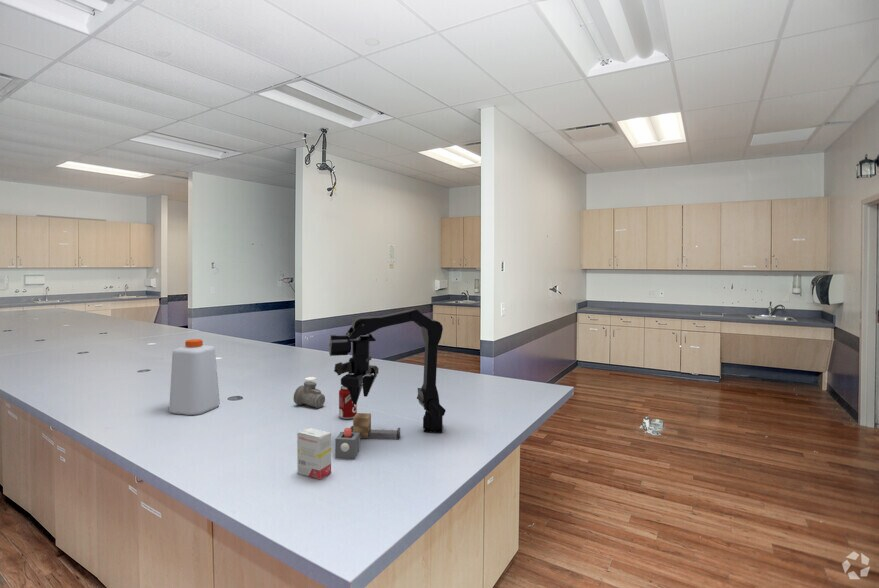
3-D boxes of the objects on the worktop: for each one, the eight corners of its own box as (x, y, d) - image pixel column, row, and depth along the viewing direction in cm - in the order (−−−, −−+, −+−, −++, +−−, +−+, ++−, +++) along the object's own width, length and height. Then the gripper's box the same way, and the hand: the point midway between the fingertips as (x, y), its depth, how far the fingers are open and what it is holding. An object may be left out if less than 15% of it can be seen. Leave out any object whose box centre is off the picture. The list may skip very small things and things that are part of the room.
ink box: (332, 473, 126) (332, 431, 125) (320, 480, 122) (320, 437, 121) (309, 466, 130) (309, 426, 129) (296, 473, 126) (296, 432, 125)
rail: (400, 436, 154) (400, 427, 154) (399, 439, 151) (399, 430, 151) (351, 434, 155) (351, 426, 155) (349, 437, 152) (349, 429, 152)
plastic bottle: (197, 417, 171) (196, 344, 169) (163, 413, 174) (162, 342, 172) (224, 405, 185) (223, 338, 184) (192, 402, 188) (191, 336, 187)
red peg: (352, 440, 139) (352, 428, 139) (350, 443, 137) (350, 430, 137) (345, 440, 139) (345, 427, 139) (343, 443, 137) (343, 430, 137)
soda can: (339, 420, 169) (339, 389, 168) (338, 415, 175) (338, 384, 174) (357, 419, 170) (357, 388, 170) (355, 413, 177) (356, 383, 176)
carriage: (370, 432, 156) (371, 413, 155) (367, 437, 151) (367, 418, 150) (356, 431, 156) (356, 413, 156) (353, 437, 151) (353, 417, 151)
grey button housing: (359, 451, 141) (359, 432, 141) (354, 459, 135) (354, 440, 135) (340, 450, 142) (340, 431, 141) (335, 458, 135) (335, 439, 135)
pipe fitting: (291, 405, 185) (294, 381, 184) (304, 402, 192) (308, 378, 192) (313, 413, 180) (316, 388, 179) (326, 409, 187) (330, 385, 186)
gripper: (350, 348, 161) (349, 391, 162) (325, 358, 143) (325, 406, 144) (379, 350, 158) (378, 393, 159) (358, 360, 140) (357, 409, 141)
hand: (360, 400), depth 151 cm, fingers open, 9 cm apart
